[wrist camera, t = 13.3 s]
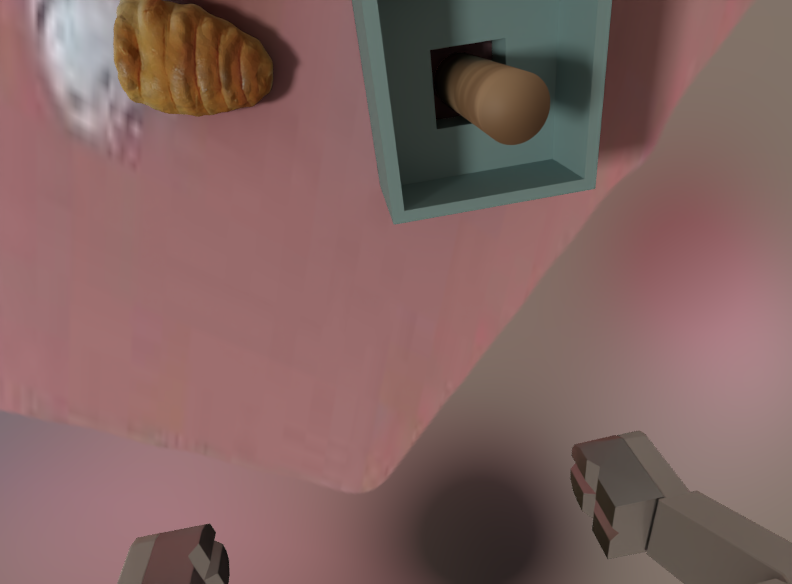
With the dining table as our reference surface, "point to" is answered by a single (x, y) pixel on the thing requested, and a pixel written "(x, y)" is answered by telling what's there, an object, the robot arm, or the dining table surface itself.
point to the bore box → (456, 136)
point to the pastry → (187, 59)
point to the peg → (494, 96)
